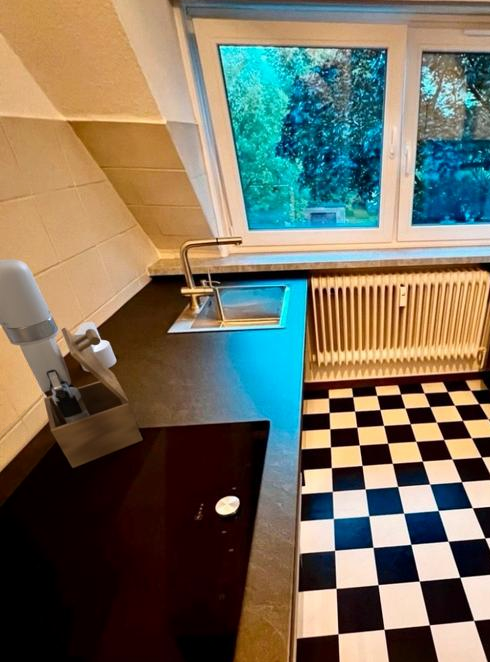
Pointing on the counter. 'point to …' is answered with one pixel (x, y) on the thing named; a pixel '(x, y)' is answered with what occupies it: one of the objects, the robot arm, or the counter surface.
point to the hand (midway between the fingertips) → (70, 403)
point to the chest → (94, 425)
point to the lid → (93, 360)
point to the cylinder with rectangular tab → (97, 346)
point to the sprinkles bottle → (78, 397)
